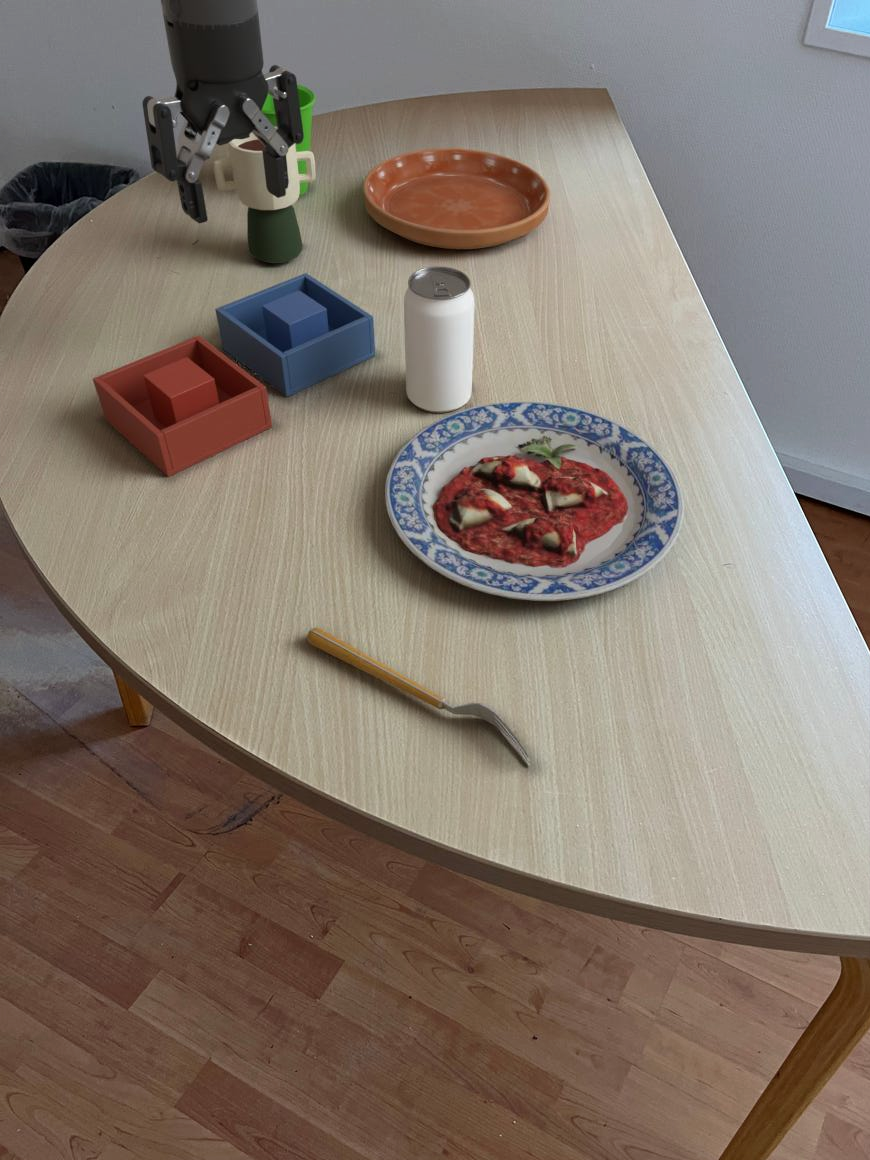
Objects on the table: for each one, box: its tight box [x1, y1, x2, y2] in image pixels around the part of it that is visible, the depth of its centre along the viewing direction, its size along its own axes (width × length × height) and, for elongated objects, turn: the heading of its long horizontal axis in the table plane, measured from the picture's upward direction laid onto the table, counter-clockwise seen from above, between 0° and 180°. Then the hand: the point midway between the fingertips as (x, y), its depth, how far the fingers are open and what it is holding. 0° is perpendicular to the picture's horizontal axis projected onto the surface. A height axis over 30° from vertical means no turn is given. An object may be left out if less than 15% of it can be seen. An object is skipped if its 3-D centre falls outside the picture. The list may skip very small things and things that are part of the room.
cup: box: [261, 84, 316, 197], centre depth 119 cm, size 9×9×11 cm
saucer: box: [362, 147, 551, 250], centre depth 118 cm, size 23×23×4 cm
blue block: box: [262, 291, 329, 353], centre depth 97 cm, size 5×5×5 cm
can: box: [403, 266, 475, 414], centre depth 90 cm, size 6×6×12 cm
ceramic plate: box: [384, 400, 685, 602], centre depth 83 cm, size 26×26×3 cm
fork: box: [306, 627, 531, 767], centre depth 70 cm, size 2×2×20 cm
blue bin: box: [214, 272, 376, 398], centre depth 97 cm, size 11×11×4 cm
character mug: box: [213, 127, 317, 264], centre depth 107 cm, size 11×7×13 cm, turn 108°
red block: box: [143, 357, 219, 427], centre depth 88 cm, size 5×5×5 cm
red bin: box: [92, 335, 273, 478], centre depth 89 cm, size 11×11×4 cm
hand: (238, 206), depth 89 cm, fingers open, 8 cm apart
